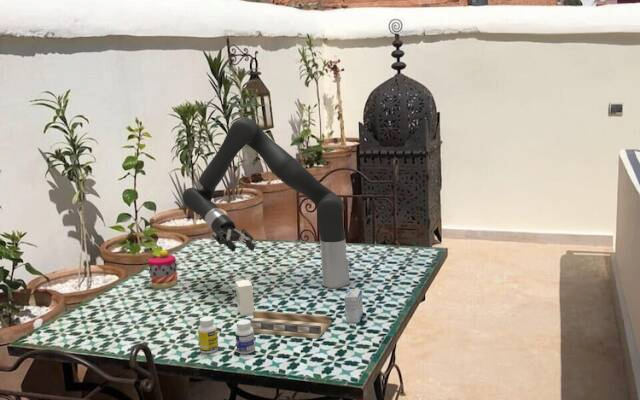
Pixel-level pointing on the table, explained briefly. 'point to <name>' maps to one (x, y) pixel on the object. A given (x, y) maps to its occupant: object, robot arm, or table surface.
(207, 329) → the supplement bottle
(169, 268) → the cake
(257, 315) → the shelf ledge
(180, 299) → the table surface
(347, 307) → the medicine box
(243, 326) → the pill bottle
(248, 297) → the carton
